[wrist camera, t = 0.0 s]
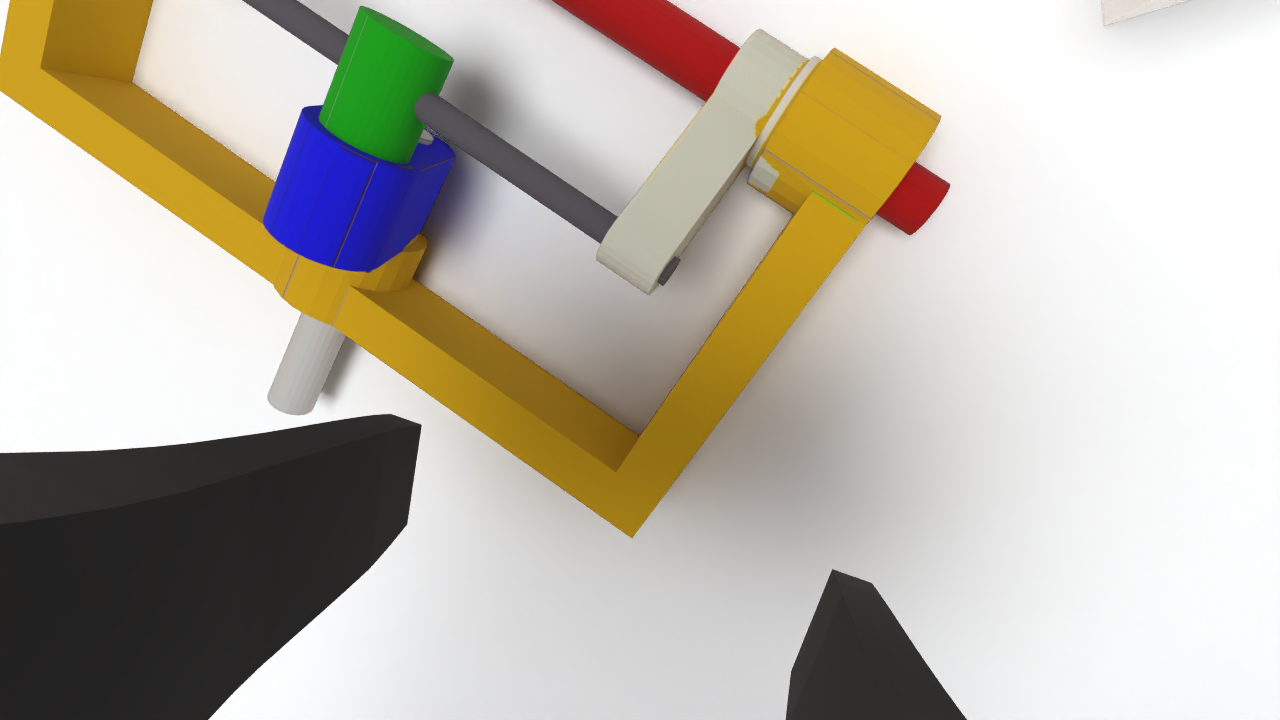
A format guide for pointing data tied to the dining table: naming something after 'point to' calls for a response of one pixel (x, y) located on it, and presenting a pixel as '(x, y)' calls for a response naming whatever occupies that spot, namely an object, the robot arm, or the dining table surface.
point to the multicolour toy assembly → (419, 162)
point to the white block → (1132, 8)
